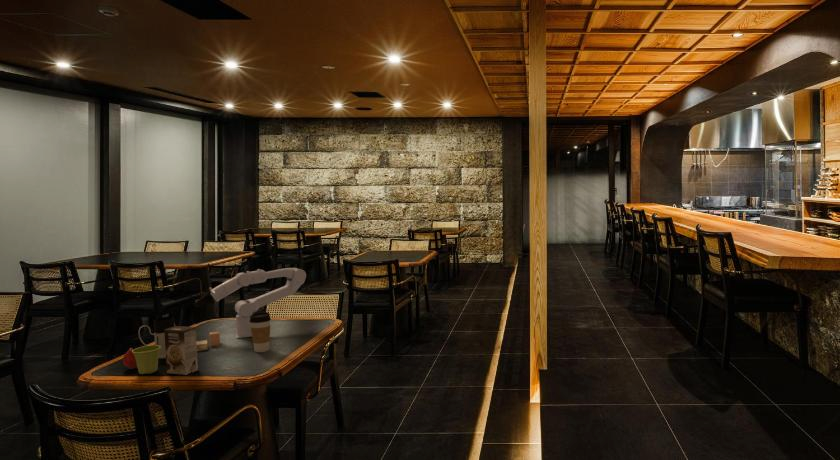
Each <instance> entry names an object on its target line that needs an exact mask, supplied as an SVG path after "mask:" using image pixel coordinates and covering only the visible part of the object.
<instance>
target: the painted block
mask: <svg viewBox="0 0 840 460" xmlns="http://www.w3.org/2000/svg"><path fill="white" fill-rule="evenodd" d="M220 335H221V334H220V331H212V332H209V346H210V347H213V346H221V338H220Z"/></svg>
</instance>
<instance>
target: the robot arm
mask: <svg viewBox="0 0 840 460" xmlns="http://www.w3.org/2000/svg"><path fill="white" fill-rule="evenodd" d="M283 277H285V278H286V279H287V280H286V283H285V285H284V286H281V287H279V288H276V289H273V290H272V291H268V292H266V293H264V294H262V295H259V296H257V297H254V298H249V299H246V300H243V299H242V300H239V301H237V302H236V303H235V304H234V310H235V312H236V313H237V314H236V316H235V323H236V325H235V326H236V333H235V336H236V339H242V338H249V337H251V338H252V332H251V322H249V321H250V316H251V315H253V314H254V313H255V312H257V311H258V310H259V309H260V308H262V307H265V306H267V305H269V304H272V303H274V302H277V301H280V300H282V299H284V298H287V297H289V296H291V295H294V294H295V293H296V292H297V291H298V289H300V287H301V286H302V285H303V284H304V283H305V281H306V278H307V273H306V271H305V270H303V269H302V268H297V267H285V268H281V269H280V268H279V269H274V270H269V271H265V270H264V269H260V268H258V269H256V270H254V271H249V270H247V271H246V272H238V273H236V274H235V276H234V277H232V278H230V279H228V280H226V281H224V282H223V283H220V284H219V285H217V286H215V287H214V288H212V287H211V286H210V287H208V288H209V291H207V292H205V293H204V294H203V296H202V297H200V298H199V299H198V300H196V301H195V302H194V303H193V305H194V307H195V308H196V309H199V308H202V307H204V306H207V305H209V304H215V303H217V302H220V300H222V299H224V298H226V297H227V296H229V295H231V294H232V293H234V292H236V291H238V290H239V289H241V288H242V287H248V286H249V285H255V284H260V283H266V281H267V279H268V280H269V279H275V278H283ZM215 301H216V302H215Z"/></svg>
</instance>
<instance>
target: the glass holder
mask: <svg viewBox="0 0 840 460" xmlns="http://www.w3.org/2000/svg"><path fill="white" fill-rule="evenodd" d="M175 326H176V324H175V317H174V316H162V317H158V318H154V319H153V328H154V329H153V330H154V332H153V333H152V329H151V328H150V326H148V325H141V326H140V327H139V329H138V331H137V333H138V338H139V340H140V341H141V342H140V343H142V344H143V345H144V346H148V344H146V343H145V342H144V341H143V339H142V337H141V334H140V333H141V329H142V328H143V327H147V328H148V330H149V334H150V335H152V336H153V337H154V345H159V346H161V348H160V350H159V354H158V359H166V350H165V335H164V330H165V329H168V328H171V327H175Z"/></svg>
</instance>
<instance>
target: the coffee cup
mask: <svg viewBox="0 0 840 460" xmlns="http://www.w3.org/2000/svg"><path fill="white" fill-rule="evenodd" d="M252 314H253V315H251V316H250V321H249V322H251V332H252V336H251V338H252V344H253V350H254V352H255V353H263V352H264V353H265V352H269V350H270V339H271V337H270V336H271V323H270V321H271V320H272V319H271V316H270V312H268V311H261V312H256V313H255V312H254V313H252Z"/></svg>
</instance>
